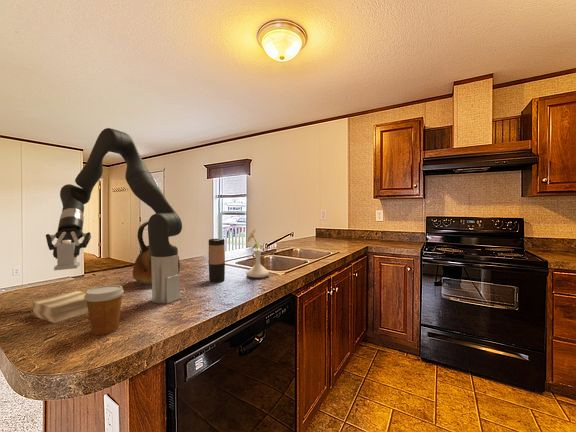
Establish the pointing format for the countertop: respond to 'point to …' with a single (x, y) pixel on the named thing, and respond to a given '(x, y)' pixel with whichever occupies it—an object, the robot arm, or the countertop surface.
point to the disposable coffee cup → (104, 308)
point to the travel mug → (216, 260)
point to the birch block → (61, 306)
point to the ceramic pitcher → (144, 261)
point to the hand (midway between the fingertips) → (66, 256)
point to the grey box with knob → (66, 256)
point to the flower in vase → (257, 269)
